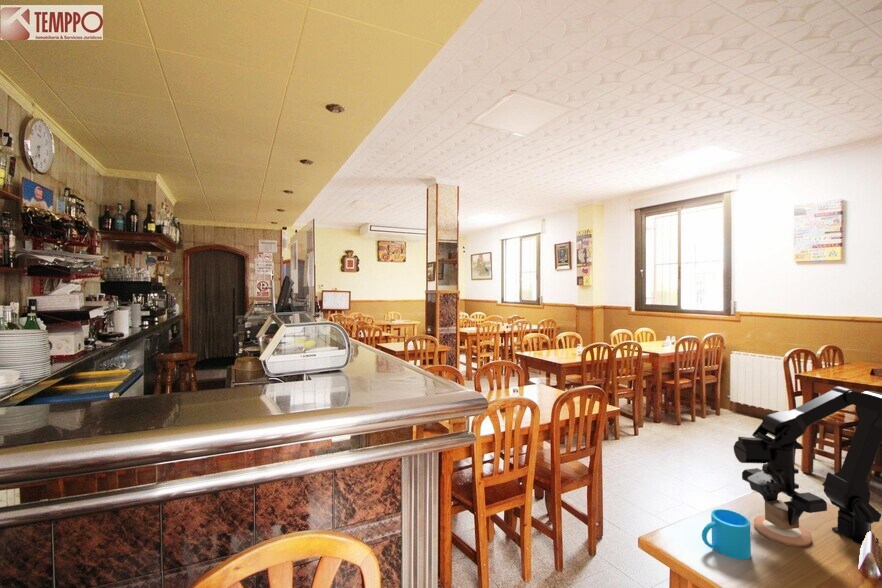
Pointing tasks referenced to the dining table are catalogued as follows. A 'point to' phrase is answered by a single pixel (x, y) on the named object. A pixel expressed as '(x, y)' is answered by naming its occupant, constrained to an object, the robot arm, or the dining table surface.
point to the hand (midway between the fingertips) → (781, 519)
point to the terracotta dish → (783, 533)
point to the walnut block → (778, 514)
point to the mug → (729, 534)
